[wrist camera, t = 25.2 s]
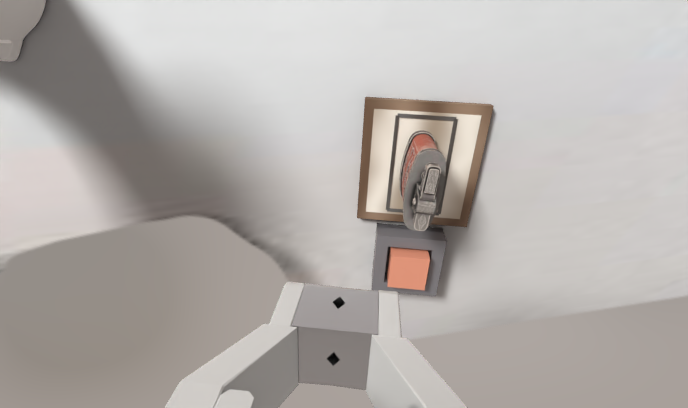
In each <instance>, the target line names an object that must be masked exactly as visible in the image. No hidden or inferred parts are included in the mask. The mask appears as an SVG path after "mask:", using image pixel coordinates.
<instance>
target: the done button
mask: <svg viewBox="0 0 688 408" xmlns="http://www.w3.org/2000/svg"><path fill="white" fill-rule="evenodd" d="M429 263H430V257H429V253H428V250H421V249H410V248H398V247H390V251H389V260H388V268H387V285H388V287H394V288H405V289H416V290H425V285H426V279H427V274H428V268H429Z"/></svg>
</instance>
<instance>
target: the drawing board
mask: <svg viewBox="0 0 688 408" xmlns="http://www.w3.org/2000/svg"><path fill="white" fill-rule="evenodd" d="M492 111H493V105H491V104H476V103H460V102H443V101H426V100H409V99H392V98H376V97H365V109H364V123H363V138H362V153H361V167H360V182H359V197H358V212H357V218H363V219H375V220H387V221H399V222H404V220H403V199H402V197H401V196H400V190H399V176H400V168H401V162H402V158H403V155H404V151H405V148H406V146H407V143H408V141H409V138H410V136H411V135H412V134H413V133H414V132H416V131H419V130H425V131H428V132H429V133H431V134H432V136H433V137H434V139H435V145H436V147H437V149H438V150H439V151H440V152H442V154H443V155H444V157H445V159H446V175H445V183H444V189H443V195H442V198H441V201H440V204H439V207H438V210H437V212H436V214H435V216H434V218H433V220H432V222H431V224H436V225H448V226H460V227H467V223H468V219H469V214H470V210H471V205H472V201H473V196H474V192H475V187H476V183H477V178H478V174H479V169H480V165H481V160H482V156H483V151H484V147H485V142H486V138H487V133H488V129H489V124H490V120H491V115H492Z"/></svg>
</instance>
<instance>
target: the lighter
mask: <svg viewBox="0 0 688 408" xmlns="http://www.w3.org/2000/svg"><path fill="white" fill-rule="evenodd" d="M445 175H446V159H445V157H444V155H443V154H442V152H440V151H439V150H438V149H437V147H436V145H435V139H434V137H433V136H432V134H431V133H429V132H428V131H425V130H419V131H416V132H414V133H413V134H412V135H411V136H410V138H409V141H408V143H407V146H406V148H405V151H404V155H403V158H402V162H401V168H400V176H399V190H400V196H401V197H402V199H403V220H404V224H405V225H406V227H407V228H409V229H411V230H414V231H425V230H426V229H427V228H428V227H429V226H430V224H431V222H432V220H433V218H434V216H435V214H436V212H437V210H438V207H439V204H440V201H441V198H442V195H443V189H444V183H445Z"/></svg>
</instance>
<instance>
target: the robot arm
mask: <svg viewBox="0 0 688 408" xmlns="http://www.w3.org/2000/svg"><path fill="white" fill-rule="evenodd" d="M45 3H46V0H0V61H9V62H13V61H15V60H16V59H17V58H18V56H19V53H20V50H21V46H22V42H23V39H24V37H25V36H26V35H27V34H28V33H29V32H30V31H31V30H32V29H33V28H34V27H35V26H36V24H37V23H38V22H39V20H40V18H41V16H42V14H43V11H44V7H45ZM298 383H310V384H321V385H333V386H340V387H347V388H354V389H362V390H366V393H367V395H368V397H369V399H370V401H371V403H372V404H373V406H374V408H468V407H467V406H466V405H465V404H464V403H463V402H462V401H461V400H460V398H459V397H458V396H457V395H456V394H455V392H454V391H453V390H452V389H451V388H450V387H449V386H448V385H447V383H446V382H445V381H444V380H443V379H442V377H441V376H440V375H439V374H438V373H437V372H436V371H435V369H434V368H433V367H432V366H431V365H430V364H429V363H428V362H427V360H426V359H425V358H424V357H423V356H422V355H421V353H420V352H419V351H418V350H417V349H416V347H415V346H414V345H413V344H412V343H411V342H410V341H409V339H407V338H402V334H401V321H400V308H399V295H398V293H397V292H396V291H382V290H379V291H375V290H363V289H352V288H342V287H334V286H325V285H317V284H308V283H306V284H305V283H297V282H288V281H287V282H286V284H285V285H284V287H283V290H282V292H281V295H280V297H279V300H278V302H277V305H276V307H275V310H274V312H273V315H272V318H271V321H270V323H269V324H262V325H261V326H259V327H258V328H256V329H255V330H254V331H252V332H251V333H249V334H248V335H246V336H245V337H244V338H242V339H241V340H239V341H238V342H236V343H235V344H233V345H232V346H231V347H229V348H228V349H226V350H225V351H223V352H222V353H220V354H219V355H217V356H216V357H215V358H213V359H212V360H210V361H209V362H207V363H206V364H205V365H203V366H202V367H200V368H199V369H197V370H196V371H194V372H193V373H192V374H190V375H189V376H187V377H186V378H184V379H183V380H181V381H180V383H179V384H178V386H177V388H176V389H175V391H174V393H173V395H172V396H171V398H170V399H169V401H168V403H167V405H166V406H165V408H278V407H279V406H280V405H281V404H282V403H283V402H284V400H285V399H286V398H287V397H288V396H289V395H290V394H291V393H292V391H293V390H294V389H295V388H296V387H297V386H298Z"/></svg>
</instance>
